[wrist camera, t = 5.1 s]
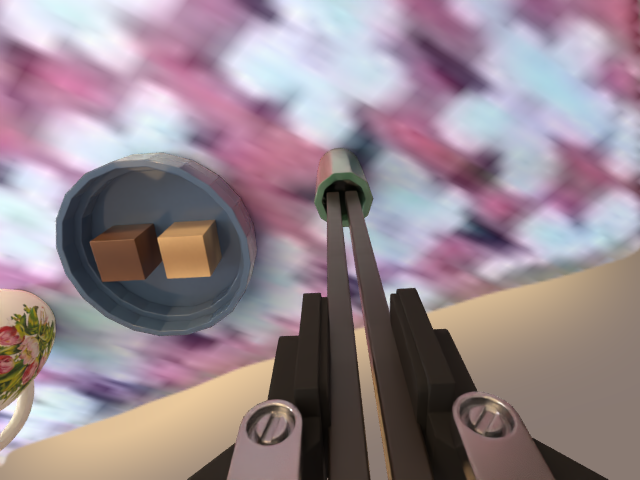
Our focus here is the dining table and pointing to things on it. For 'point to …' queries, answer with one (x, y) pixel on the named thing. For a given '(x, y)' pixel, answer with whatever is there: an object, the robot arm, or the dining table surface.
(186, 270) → the beech block
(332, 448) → the chopsticks
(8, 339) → the pitcher
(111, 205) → the bowl
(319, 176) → the holder
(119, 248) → the walnut block
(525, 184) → the dining table surface
